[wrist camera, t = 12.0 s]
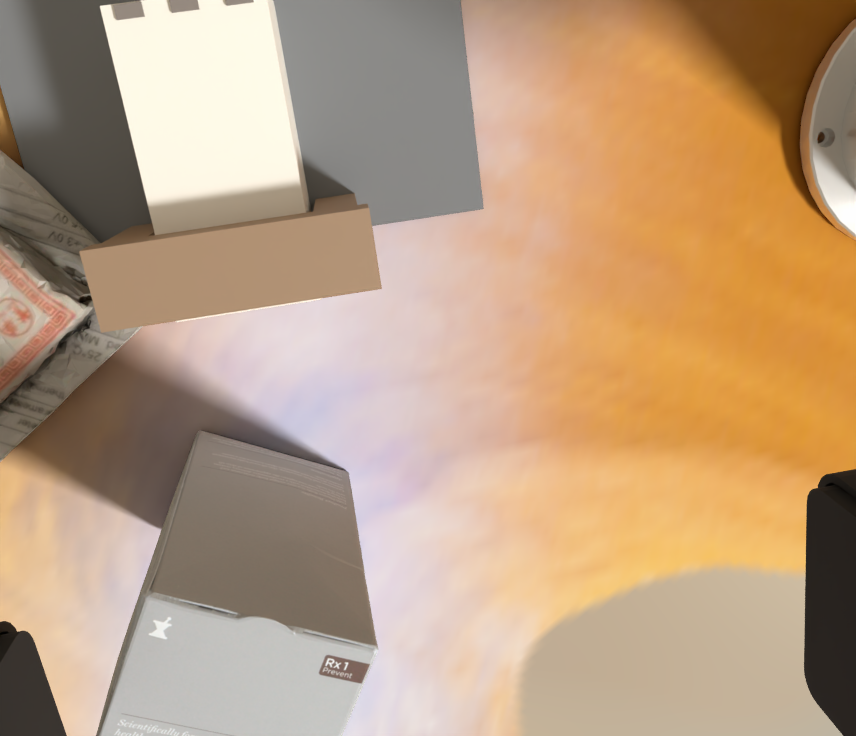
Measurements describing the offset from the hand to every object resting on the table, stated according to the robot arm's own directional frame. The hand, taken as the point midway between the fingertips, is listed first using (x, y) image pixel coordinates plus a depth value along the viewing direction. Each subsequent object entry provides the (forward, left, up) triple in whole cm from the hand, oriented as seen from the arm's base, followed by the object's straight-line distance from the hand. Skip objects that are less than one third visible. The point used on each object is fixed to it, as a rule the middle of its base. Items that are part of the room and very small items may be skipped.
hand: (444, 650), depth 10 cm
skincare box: (+7, +12, -31) cm, 34 cm away
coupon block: (+5, -5, -30) cm, 31 cm away
